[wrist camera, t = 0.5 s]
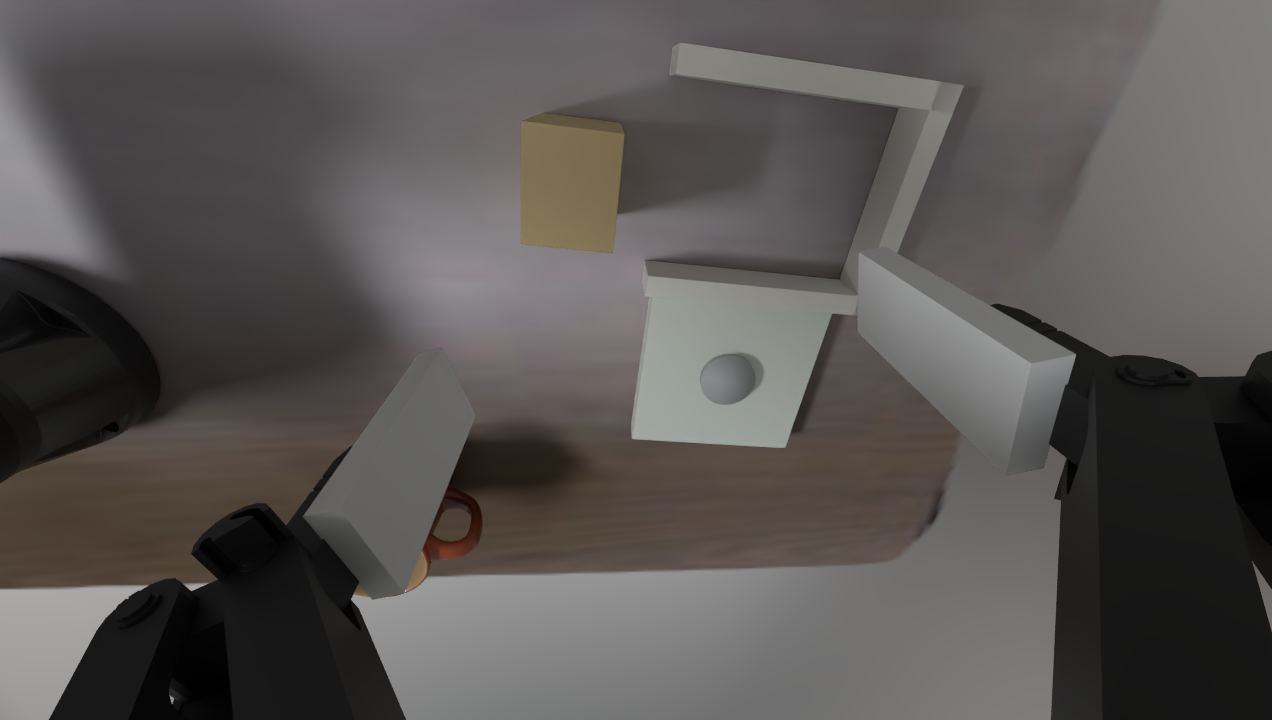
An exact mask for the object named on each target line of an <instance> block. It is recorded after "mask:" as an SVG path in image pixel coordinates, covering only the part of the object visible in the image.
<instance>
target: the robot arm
mask: <svg viewBox="0 0 1272 720" xmlns="http://www.w3.org/2000/svg"><path fill="white" fill-rule="evenodd" d="M858 333H859V334H860V335H861V336H862V337H863V338H864V339H865V340H866V341H867V342H868V343H869V344H870V345H871V346H872V347H873V348H874V349H875V350H876V351H877V352H878V353H880V354H881V355H882V356H883V357H884V358H885V359H886V360H887V361H888V362H889V363H890V364H891V365H892V366H893V367H894V368H895V369H896V370H897V371H898V372H899V373H900V374H901V375H902V376H903V377H904V378H905V379H906V380H907V381H908V382H909V383H910V384H911V385H912V386H914V387H915V388H916V389H917V390H918V391H919V392H920V393H921V394H922V395H923V396H924V397H925V398H926V399H927V400H928V401H929V402H930V403H931V404H932V405H933V406H934V407H935V408H936V409H937V410H938V411H939V412H940V413H941V414H942V415H943V416H944V417H945V418H946V419H948V420H949V421H950V422H951V423H952V424H953V425H954V426H955V427H956V428H957V429H958V430H959V431H960V432H961V433H962V434H963V435H964V436H965V437H966V438H967V439H968V440H969V441H970V442H971V443H972V444H973V445H974V446H975V447H976V448H977V449H978V450H979V451H980V452H982V453H983V454H984V455H985V456H986V457H987V458H988V459H989V460H990V461H991V462H992V463H993V464H994V465H995V466H996V467H997V468H998V469H999V470H1000V471H1001V472H1003V474H1004V475H1005V476H1006V475H1012V474H1017V473H1022V472H1027V471H1032V470H1037V469H1043V468H1044V466H1045V462H1046V459H1047V455H1048V452H1049V448H1050V445H1051V446H1052V447H1054V448H1055V449H1056V450H1057V451H1059V452H1060V453H1061V454H1062V455H1064V456H1065V457H1066V458H1067V459H1066V462H1065V465H1064V468H1063V472H1062V475H1061V478H1060V481H1059V484H1058V488H1057V491H1056V494H1055V497H1054V499H1058V500H1061V515H1060V539H1059V558H1058V580H1057V602H1056V625H1055V647H1054V667H1053V668H1054V669H1053V689H1052V711H1051V720H1272V632H1271V628H1270V624H1269V620H1268V617H1267V613H1266V610H1265V606H1264V603H1263V599H1262V595H1261V592H1260V588H1259V585H1258V581H1257V577H1256V574H1255V571H1254V567H1253V563H1252V561H1253V562H1254V564H1255V565H1256V567H1257V568H1258V570H1259V571H1260V573H1261V574H1262V576H1263V577H1264V578H1265V580H1266V582H1267V583H1268V584H1269V586H1270V587H1271V589H1272V351H1269V352H1266V353H1263V354H1260V355H1257V356H1256V358H1255V359H1254V360H1253V362H1252V364H1251V366H1250V368H1249V370H1248V372H1247V374H1246V376H1241V377H1198V376H1197V375H1196V373H1194V372H1192V371H1191V370H1189V369H1187V368H1185V367H1184V366H1182V365H1179V364H1176V363H1173V362H1170V361H1167V360H1164V359H1159V358H1153V357H1147V356H1136V355H1135V356H1134V355H1121V356H1114V357H1109V356H1107V355H1105V354H1104V353H1102V352H1100V351H1098V350H1096V349H1094V348H1092V347H1090V346H1088V345H1087V344H1085V343H1083V342H1081V341H1079V340H1077V339H1075V338H1073V337H1072V336H1069V335H1068V334H1066V333H1064V332H1062V331H1057V329H1056V328H1055V327H1053V326H1051V325H1049V324H1047V323H1042V322H1041V320H1040V319H1038V318H1036V317H1034V316H1032V315H1030V314H1028V313H1026V312H1025V311H1023V310H1019V309H1016V308H1012V307H1008V306H1005V305H1001V304H993V305H988V304H986V303H985V302H983V301H981V300H979V299H977V298H976V297H974V296H972V295H970V294H969V293H967V292H965V291H963V290H962V289H960V288H958V287H956V286H954V285H953V284H951V283H949V282H947V281H946V280H944V279H942V278H940V277H939V276H937V275H935V274H933V273H932V272H930V271H928V270H926V269H924V268H923V267H921V266H919V265H917V264H916V263H914V262H912V261H910V260H909V259H907V258H905V257H903V256H901V255H900V254H898V253H896V252H894V251H893V250H891V249H889V248H887V247H886V246H882V247H878V248H874V249H869V250H865V251H861V252H859V271H858ZM158 394H159V377H158V373H157V369H156V366H155V364H154V361H153V359H152V357H151V355H150V353H149V351H148V349H147V348H146V346H145V345H144V343H143V342H142V340H141V339H140V338H139V337H138V335H137V334H136V333H135V332H134V330H133V329H132V328H131V327H130V326H129V325H128V324H127V323H126V322H125V321H124V320H123V319H122V318H121V317H120V316H119V315H118V314H116V313H115V312H114V311H113V310H112V309H111V308H109V307H108V306H107V305H105V304H104V303H103V302H101V301H100V300H99V299H97V298H96V297H94V296H93V295H91V294H90V293H88V292H87V291H85V290H83V289H82V288H80V287H78V286H76V285H74V284H73V283H71V282H69V281H67V280H65V279H63V278H61V277H58V276H56V275H54V274H51V273H49V272H46V271H44V270H41V269H38V268H35V267H32V266H28V265H25V264H21V263H17V262H13V261H7V260H1V259H0V483H1V482H3V481H5V480H6V479H8V478H9V477H11V476H13V475H14V474H16V473H18V472H20V471H22V470H25V469H28V468H30V467H33V466H36V465H39V464H42V463H45V462H48V461H51V460H54V459H56V458H59V457H62V456H65V455H68V454H71V453H74V452H77V451H80V450H82V449H85V448H88V447H91V446H94V445H97V444H100V443H103V442H105V441H108V440H110V439H112V438H114V437H116V436H118V435H120V434H121V433H123V432H124V431H126V430H127V429H129V428H130V427H132V426H133V425H134V424H136V423H137V422H139V421H140V420H141V419H143V418H144V417H145V416H147V415H148V414H149V412H150V411H151V410H152V409H153V407H154V405H155V404H156V401H157V398H158ZM475 417H476V415H475V413H474V411H473V409H472V407H471V405H470V403H469V401H468V399H467V397H466V395H465V393H464V391H463V389H462V387H461V385H460V383H459V381H458V379H457V377H456V375H455V373H454V371H453V369H452V367H451V365H450V362H449V360H448V358H447V356H446V354H445V352H444V350H443V348H438V349H434V350H429V351H425V352H421V353H419V354H418V355H417V357H416V358H415V360H414V361H413V362H412V364H411V365H410V367H409V368H408V369H407V371H406V372H405V374H404V375H403V376H402V378H401V379H400V381H399V382H398V383H397V385H396V386H395V388H394V389H393V390H392V392H391V393H390V395H389V396H388V397H387V399H386V400H385V402H384V403H383V404H382V406H381V407H380V409H379V410H378V412H377V413H376V414H375V416H374V417H373V419H372V420H371V421H370V423H369V424H368V426H367V427H366V428H365V430H364V431H363V433H362V434H361V435H360V437H359V438H358V440H357V441H356V442H355V444H354V445H353V446H350V447H349V448H348V449H347V450H346V451H345V452H344V453H342V454H341V455H340V456H339V457H338V458H337V459H336V460H334V461H333V463H332V464H331V465H330V467H329V468H328V470H327V471H326V472H325V474H324V475H323V479H320V480H319V482H318V483H317V485H316V486H315V487H314V491H313V492H311V493H310V494H309V495H308V497H307V498H306V500H305V501H304V502H303V504H302V505H301V506H300V508H299V509H298V510H297V512H296V513H295V514H294V516H293V517H292V519H291V520H290V521H289V523H288V524H287V525H285V524H284V523H283V522H282V521H281V519H280V518H279V517H278V516H277V515H276V514H275V513H274V511H273V510H272V509H271V508H270V507H269V506H268V505H267V504H264V503H256V504H253V505H249V506H245V507H243V508H241V509H239V510H237V511H235V512H232V513H230V514H229V515H227V516H226V517H224V518H223V519H221V520H220V521H218V522H217V523H215V524H214V525H213V526H212V527H210V528H209V529H208V530H207V531H206V532H205V533H204V534H203V535H202V536H201V537H200V538H199V540H198V541H197V542H196V543H195V544H194V547H193V550H192V553H191V554H192V555H193V556H194V557H195V558H196V559H197V560H198V561H199V562H200V563H201V564H202V565H204V566H205V567H206V568H207V569H208V570H209V571H210V572H211V573H212V574H213V575H214V576H215V577H216V578H217V579H218V580H216V581H214V582H212V583H209V584H207V585H205V586H202V587H200V588H198V589H196V590H194V591H190V590H189V589H188V588H187V587H186V586H185V585H183V584H182V583H181V582H180V581H179V580H177V579H176V578H172V579H164V580H162V581H159V582H156V583H154V584H151V585H149V586H148V587H146V588H144V589H142V590H141V591H137V592H136V593H134V594H132V595H131V596H129V599H125V600H124V601H123V602H122V603H121V604H119V605H118V606H117V608H116V609H115V610H114V611H113V612H112V613H111V614H110V615H109V616H108V617H107V618H106V619H105V620H104V621H103V623H102V624H101V626H100V627H99V628H98V630H97V631H96V633H95V635H94V637H93V639H92V640H91V642H90V644H89V646H88V648H87V650H86V652H85V653H84V655H83V657H82V659H81V661H80V663H79V665H78V666H77V668H76V670H75V672H74V674H73V676H72V678H71V680H70V682H69V683H68V685H67V687H66V689H65V691H64V693H63V694H62V696H61V699H60V700H59V702H58V704H57V706H56V707H55V710H54V711H53V713H52V715H51V717H50V719H49V720H406V718H405V716H404V714H403V711H402V709H401V707H400V704H399V702H398V700H397V697H396V695H395V693H394V690H393V688H392V686H391V683H390V681H389V679H388V676H387V674H386V671H385V669H384V667H383V664H382V662H381V660H380V657H379V655H378V653H377V650H376V648H375V646H374V643H373V641H372V639H371V636H370V634H369V632H368V629H367V627H366V625H365V622H364V620H363V617H362V615H361V613H360V611H359V608H358V607H357V606H356V605H355V604H354V603H353V602H352V600H351V598H352V596H353V594H354V592H355V590H356V588H357V586H358V584H360V585H361V587H362V588H363V589H364V590H365V591H366V593H367V594H368V595H369V596H370V597H371V598H372V599H378V598H383V597H388V596H393V595H398V594H403V593H405V591H406V588H407V586H408V583H409V581H410V578H411V576H412V573H413V571H414V568H415V566H416V564H417V561H418V559H419V556H420V554H421V551H422V549H423V546H424V544H425V541H426V539H427V536H428V534H429V531H430V529H431V526H432V524H433V521H434V519H435V516H436V514H437V511H438V509H439V506H440V504H441V501H442V499H443V496H444V494H445V491H446V489H447V486H448V484H449V481H450V479H451V476H452V474H453V471H454V469H455V466H456V464H457V461H458V459H459V456H460V454H461V451H462V449H463V446H464V444H465V441H466V439H467V436H468V434H469V431H470V429H471V426H472V424H473V421H474V419H475ZM169 695H170V696H172V697H173V698H174V701H173V704H172V703H171V699H170V696H169Z"/></svg>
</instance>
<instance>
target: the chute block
mask: <svg viewBox="0 0 1272 720" xmlns="http://www.w3.org/2000/svg"><path fill="white" fill-rule="evenodd" d="M624 137H625V133H624V131H623V128H622V126H621V123H618V122H610V121H603V120H595V119H587V118H579V117H572V116H564V115H556V114H549V113H541V114H539V115H536V116H533V117H530V118H528V119H525V120H522V121H521V244H526V245H536V246H546V247H555V248H565V249H575V250H585V251H595V252H605V253H613V250H614V240H615V229H616V219H617V209H618V199H619V188H620V178H621V168H622V157H623V147H624Z"/></svg>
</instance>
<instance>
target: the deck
mask: <svg viewBox="0 0 1272 720" xmlns="http://www.w3.org/2000/svg"><path fill="white" fill-rule="evenodd" d="M669 76H675V77H682V78H689V79H696V80H703V81H710V82H717V83H724V84H731V85H738V86H745V87H753V88H760V89H767V90H774V91H781V92H788V93H795V94H802V95H809V96H816V97H823V98H830V99H837V100H844V101H851V102H858V103H865V104H873V105H880V106H887V107H894V108H899V109H898V112H897V115H896V117H895V120H894V123H893V126H892V129H891V132H890V135H889V138H888V141H887V143H886V146H885V149H884V152H883V155H882V158H881V161H880V164H879V167H878V169H877V172H876V175H875V178H874V181H873V184H872V187H871V190H870V193H869V195H868V198H867V201H866V204H865V207H864V210H863V213H862V216H861V219H860V221H859V224H858V227H857V230H856V233H855V236H854V239H853V242H852V245H851V247H850V250H849V253H848V256H847V259H846V262H845V265H844V268H843V271H842V273H841V276H840V279H829V278H819V277H809V276H799V275H789V274H779V273H769V272H759V271H748V270H738V269H728V268H718V267H708V266H698V265H688V264H678V263H668V262H658V261H648V260H644V268H643V276H642V281H643V287H644V292H645V296H648V297H649V302H648V309H647V316H646V324H645V331H644V338H643V345H642V352H641V359H640V366H639V373H638V380H637V387H636V394H635V401H634V408H633V415H632V422H631V430H632V439H642V440H659V441H675V442H692V443H709V444H725V445H742V446H759V447H775V448H785V447H786V444H787V441H788V438H789V435H790V432H791V429H792V427H793V424H794V421H795V418H796V415H797V412H798V410H799V407H800V404H801V401H802V398H803V395H804V392H805V390H806V387H807V384H808V381H809V378H810V375H811V373H812V370H813V367H814V364H815V361H816V358H817V355H818V353H819V350H820V347H821V344H822V341H823V338H824V336H825V333H826V330H827V327H828V324H829V321H830V318H831V316H832V313H833V314H844V315H854V316H858V271H859V252H861V251H865V250H869V249H874V248H878V247H882V246H886V247H887V248H889V249H891V250H893V251H894V252H896V253H898V250H899V248H900V245H901V243H902V240H903V238H904V235H905V233H906V230H907V228H908V225H909V223H910V220H911V218H912V215H913V213H914V210H915V208H916V205H917V203H918V200H919V197H920V195H921V192H922V190H923V187H924V185H925V182H926V180H927V177H928V175H929V172H930V170H931V167H932V165H933V162H934V160H935V157H936V155H937V152H938V150H939V147H940V145H941V142H942V140H943V137H944V135H945V132H946V130H947V127H948V125H949V122H950V120H951V117H952V115H953V112H954V110H955V107H956V104H957V102H958V99H959V97H960V94H961V92H962V89H963V87H964V85H961V84H954V83H948V82H941V81H934V80H928V79H921V78H914V77H908V76H901V75H894V74H888V73H881V72H874V71H867V70H861V69H854V68H847V67H841V66H834V65H827V64H821V63H814V62H807V61H801V60H794V59H787V58H780V57H774V56H767V55H760V54H754V53H747V52H740V51H734V50H727V49H720V48H714V47H707V46H700V45H694V44H687V43H678V44H677V45H675V46H674V47H672V55H671V62H670V70H669Z"/></svg>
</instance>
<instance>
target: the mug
mask: <svg viewBox="0 0 1272 720" xmlns="http://www.w3.org/2000/svg"><path fill="white" fill-rule="evenodd" d="M451 486H452V476H451V479H450V481H449V484H448V486H447V489H446V491H445V494H444V496H443V499H442V501H441V504H440V506H439V509H438V511H437V514H436V516H435V519H434V521H433V524H432V526H431V529H430V531H429V534H428V536H427V539H426V541H425V544H424V546H423V549H422V551H421V554H420V556H419V559H418V561H417V564H416V566H415V568H414V571H413V573H412V576H411V578H410V581H409V583H408V586H407V588H406V591H405V593H406V592H409V591H411V590H413V589H415V588H416V587H417V586H419V585H420V584H421V583H422V582H423V581H424V580H425V579H426V577H427V576H428V573H429V569H430V564H431V562H432V561H434V560H445V559H456V558H460V557H463V556H466V555H468V554H469V553H470V552H472V551H473V550H474V549H475V547H476V546H477V544H478V542H479V540H480V536H481V532H482V513H481V509H480V507H479V505H478V503H477V501H476V500H475V499H474V498H472V497H471V496H469V495H467V494H465V493H463V492H461V491H459V490H456V489H453V488H451ZM447 509H462V510H465V511H466V512H468V513H469V514H470V516H471V525H470V529H469V532H468V534H467V536H466V537H465V538H463V539H461V540H459V541H453V542H449V541H443V540H440V539H438V538H437V537H435V536H434V535H433V533H434V530H435V528H436V526H437V524H438V522H439V520H440V517H441V515H442V513H443V512H444V511H445V510H447ZM354 594H356V595H361V596H367V597H370V596H369V595H368V594H367V593H366V591H365V590H364V589H363V588H362V587H361V585H360V584H358V586H357V588H356V590H355V592H354ZM403 594H404V593H403ZM398 595H400V594H398ZM393 596H396V595H393ZM388 597H390V596H388Z"/></svg>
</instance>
